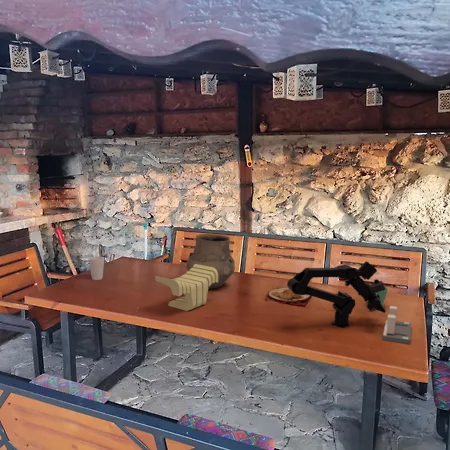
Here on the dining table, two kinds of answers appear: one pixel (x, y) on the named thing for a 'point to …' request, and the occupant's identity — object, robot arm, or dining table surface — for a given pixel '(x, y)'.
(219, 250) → the ceramic pot
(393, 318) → the block
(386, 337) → the switch block
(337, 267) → the robot arm
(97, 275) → the foam cup
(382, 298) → the mug
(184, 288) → the slatted curved stool
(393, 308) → the switch tab
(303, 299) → the plate with food
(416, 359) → the dining table surface
